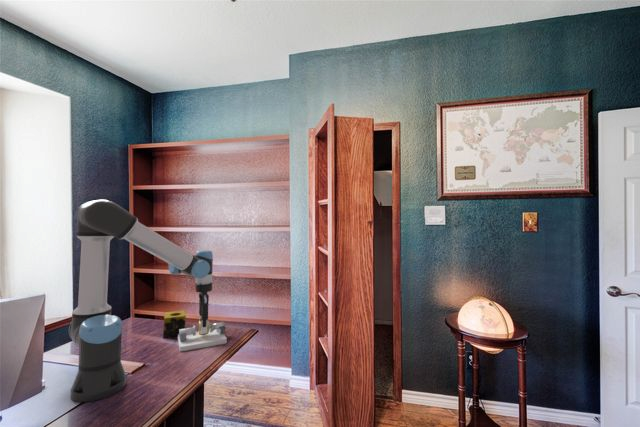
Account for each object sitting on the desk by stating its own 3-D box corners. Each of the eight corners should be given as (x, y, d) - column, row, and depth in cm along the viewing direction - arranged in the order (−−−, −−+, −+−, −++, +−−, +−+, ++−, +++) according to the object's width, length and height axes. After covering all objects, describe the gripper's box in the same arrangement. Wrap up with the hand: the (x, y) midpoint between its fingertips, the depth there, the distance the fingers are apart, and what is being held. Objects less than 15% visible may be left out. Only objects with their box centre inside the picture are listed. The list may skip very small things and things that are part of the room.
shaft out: (212, 336, 142) (212, 324, 142) (208, 333, 146) (208, 321, 146) (225, 333, 147) (226, 321, 147) (221, 330, 150) (221, 319, 151)
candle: (163, 331, 153) (164, 312, 153) (185, 328, 157) (185, 309, 158) (162, 338, 144) (163, 318, 144) (185, 335, 148) (185, 315, 148)
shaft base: (179, 351, 130) (180, 333, 130) (177, 338, 144) (178, 322, 144) (226, 343, 140) (227, 326, 140) (220, 331, 154) (220, 316, 154)
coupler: (199, 335, 139) (199, 321, 140) (198, 332, 144) (198, 318, 144) (209, 334, 142) (209, 320, 142) (208, 330, 146) (208, 317, 146)
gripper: (215, 285, 137) (214, 336, 137) (209, 278, 152) (208, 324, 152) (197, 287, 133) (196, 339, 133) (193, 280, 149) (192, 326, 148)
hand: (203, 331), depth 142 cm, fingers closed on coupler, 4 cm apart
